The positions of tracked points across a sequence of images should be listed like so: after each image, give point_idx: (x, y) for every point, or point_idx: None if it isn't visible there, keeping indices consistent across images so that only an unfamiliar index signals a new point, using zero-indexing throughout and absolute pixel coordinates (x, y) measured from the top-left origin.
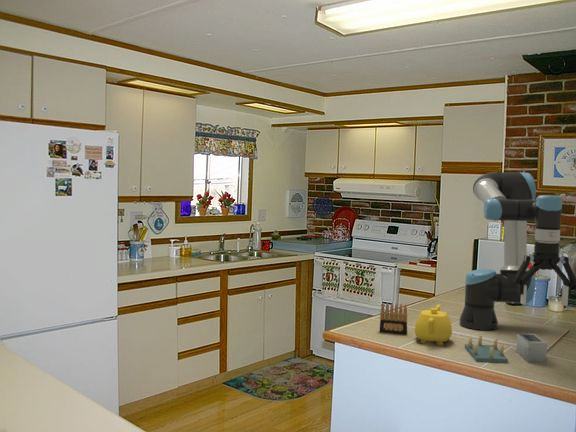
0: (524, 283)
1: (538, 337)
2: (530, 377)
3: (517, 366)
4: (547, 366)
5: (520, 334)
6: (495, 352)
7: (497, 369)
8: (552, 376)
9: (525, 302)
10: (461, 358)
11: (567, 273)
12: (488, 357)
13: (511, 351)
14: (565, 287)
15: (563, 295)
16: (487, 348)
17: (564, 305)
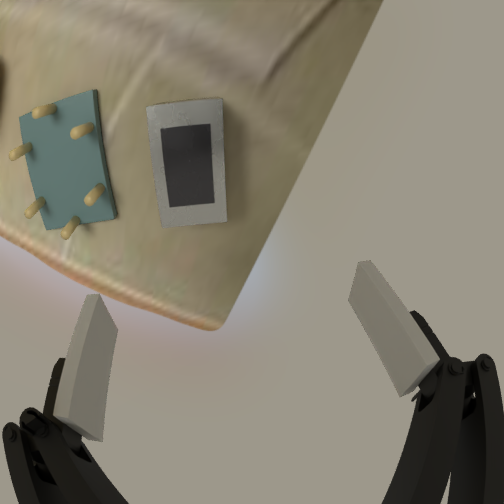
0: (86, 452)
1: (219, 153)
2: (158, 293)
3: (138, 235)
4: None
5: (154, 125)
6: (86, 167)
7: (94, 264)
8: (207, 279)
9: (113, 341)
10: (23, 212)
11: (475, 444)
12: (69, 218)
13: (145, 101)
14: (400, 386)
15: (382, 321)
16: (68, 134)
17: (350, 294)
